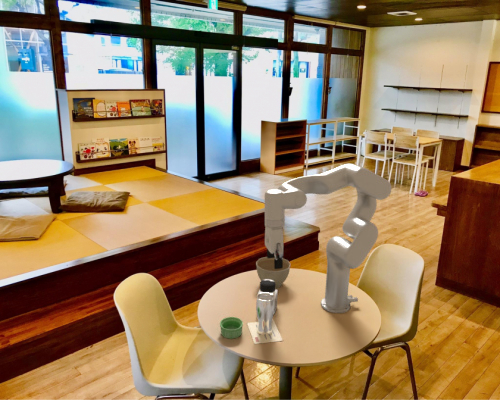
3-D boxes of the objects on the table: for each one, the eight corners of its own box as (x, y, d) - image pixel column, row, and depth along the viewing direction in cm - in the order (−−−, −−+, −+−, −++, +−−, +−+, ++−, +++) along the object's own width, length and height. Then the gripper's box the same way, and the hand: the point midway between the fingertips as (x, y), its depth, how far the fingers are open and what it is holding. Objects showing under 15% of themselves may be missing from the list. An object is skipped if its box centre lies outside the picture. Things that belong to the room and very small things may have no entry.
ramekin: (236, 324, 169) (236, 314, 168) (247, 336, 161) (247, 326, 160) (216, 330, 165) (216, 320, 163) (225, 342, 157) (225, 332, 156)
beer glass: (263, 323, 169) (263, 290, 165) (277, 330, 165) (278, 296, 160) (252, 331, 164) (252, 297, 159) (266, 338, 160) (267, 303, 155)
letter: (273, 320, 172) (273, 320, 171) (283, 340, 158) (283, 340, 158) (247, 323, 169) (247, 322, 169) (254, 344, 156) (254, 343, 156)
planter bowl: (272, 296, 190) (273, 274, 187) (248, 283, 202) (249, 262, 198) (296, 285, 201) (297, 264, 198) (272, 273, 212) (273, 253, 209)
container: (274, 314, 175) (275, 286, 172) (256, 312, 177) (256, 284, 173) (277, 305, 183) (278, 278, 179) (259, 303, 184) (260, 276, 181)
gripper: (259, 215, 166) (259, 255, 171) (271, 231, 150) (271, 274, 155) (277, 213, 168) (277, 252, 173) (291, 228, 152) (291, 271, 157)
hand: (274, 262), depth 164 cm, fingers open, 9 cm apart
